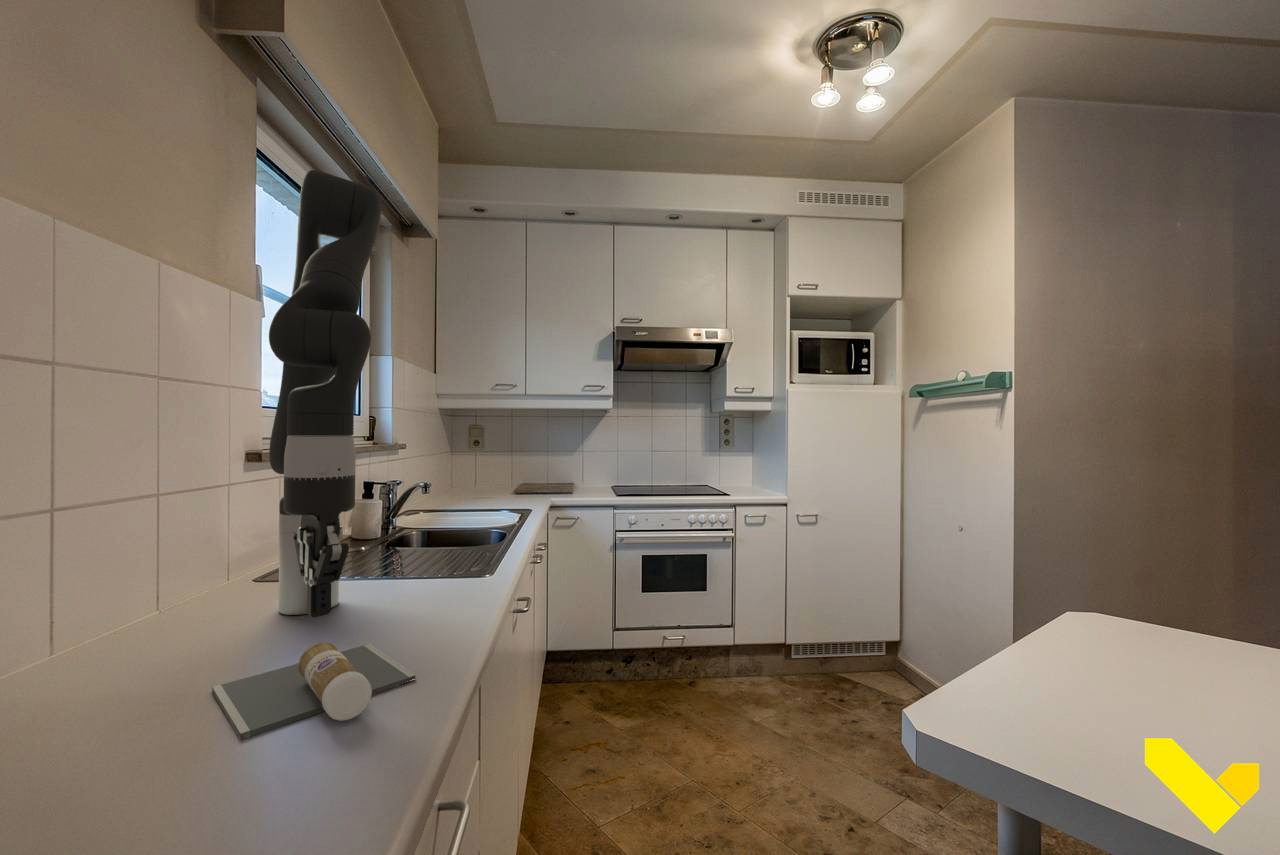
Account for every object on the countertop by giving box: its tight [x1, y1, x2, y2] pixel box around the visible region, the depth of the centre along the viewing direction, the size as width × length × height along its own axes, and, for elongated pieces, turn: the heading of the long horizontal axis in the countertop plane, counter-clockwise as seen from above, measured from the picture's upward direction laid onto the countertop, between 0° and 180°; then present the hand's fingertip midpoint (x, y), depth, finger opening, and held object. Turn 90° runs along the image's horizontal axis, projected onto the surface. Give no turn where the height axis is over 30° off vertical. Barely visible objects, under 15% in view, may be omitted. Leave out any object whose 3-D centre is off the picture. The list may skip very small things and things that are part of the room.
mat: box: [211, 643, 416, 741], centre depth 66 cm, size 15×18×1 cm
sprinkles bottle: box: [297, 641, 373, 722], centre depth 62 cm, size 5×5×14 cm
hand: (318, 614), depth 65 cm, fingers closed
